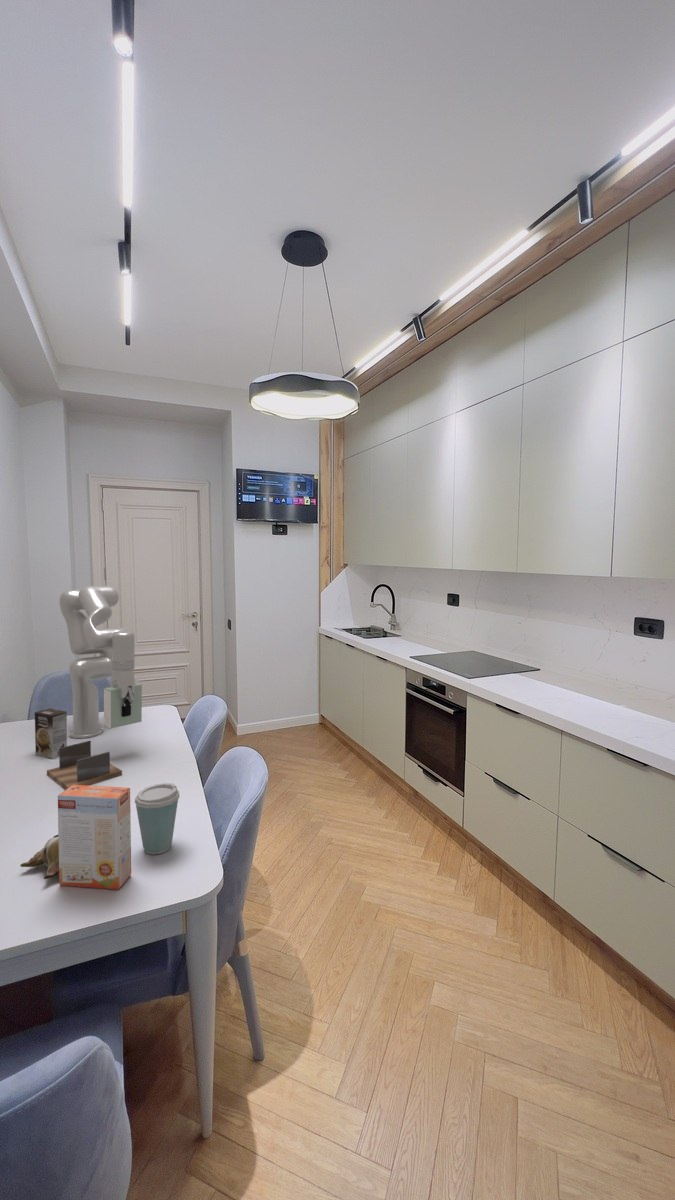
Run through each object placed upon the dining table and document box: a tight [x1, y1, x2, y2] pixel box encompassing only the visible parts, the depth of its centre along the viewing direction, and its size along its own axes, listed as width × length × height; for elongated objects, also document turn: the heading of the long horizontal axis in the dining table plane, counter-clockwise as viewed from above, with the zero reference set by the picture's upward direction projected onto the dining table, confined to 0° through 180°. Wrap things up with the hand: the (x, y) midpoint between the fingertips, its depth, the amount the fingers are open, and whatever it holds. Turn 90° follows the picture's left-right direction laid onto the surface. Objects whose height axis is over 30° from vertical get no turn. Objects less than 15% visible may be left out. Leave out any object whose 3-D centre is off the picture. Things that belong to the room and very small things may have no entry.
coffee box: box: [34, 708, 68, 760], centre depth 183 cm, size 9×6×16 cm
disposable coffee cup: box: [134, 782, 180, 855], centre depth 125 cm, size 11×11×15 cm
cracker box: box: [57, 785, 132, 890], centre depth 111 cm, size 14×6×21 cm, turn 84°
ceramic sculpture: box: [20, 834, 59, 880], centre depth 117 cm, size 11×9×15 cm
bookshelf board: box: [46, 740, 123, 791], centre depth 166 cm, size 18×17×8 cm
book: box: [103, 682, 143, 730], centre depth 181 cm, size 4×12×14 cm, turn 139°
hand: (123, 714), depth 181 cm, fingers closed on book, 4 cm apart
